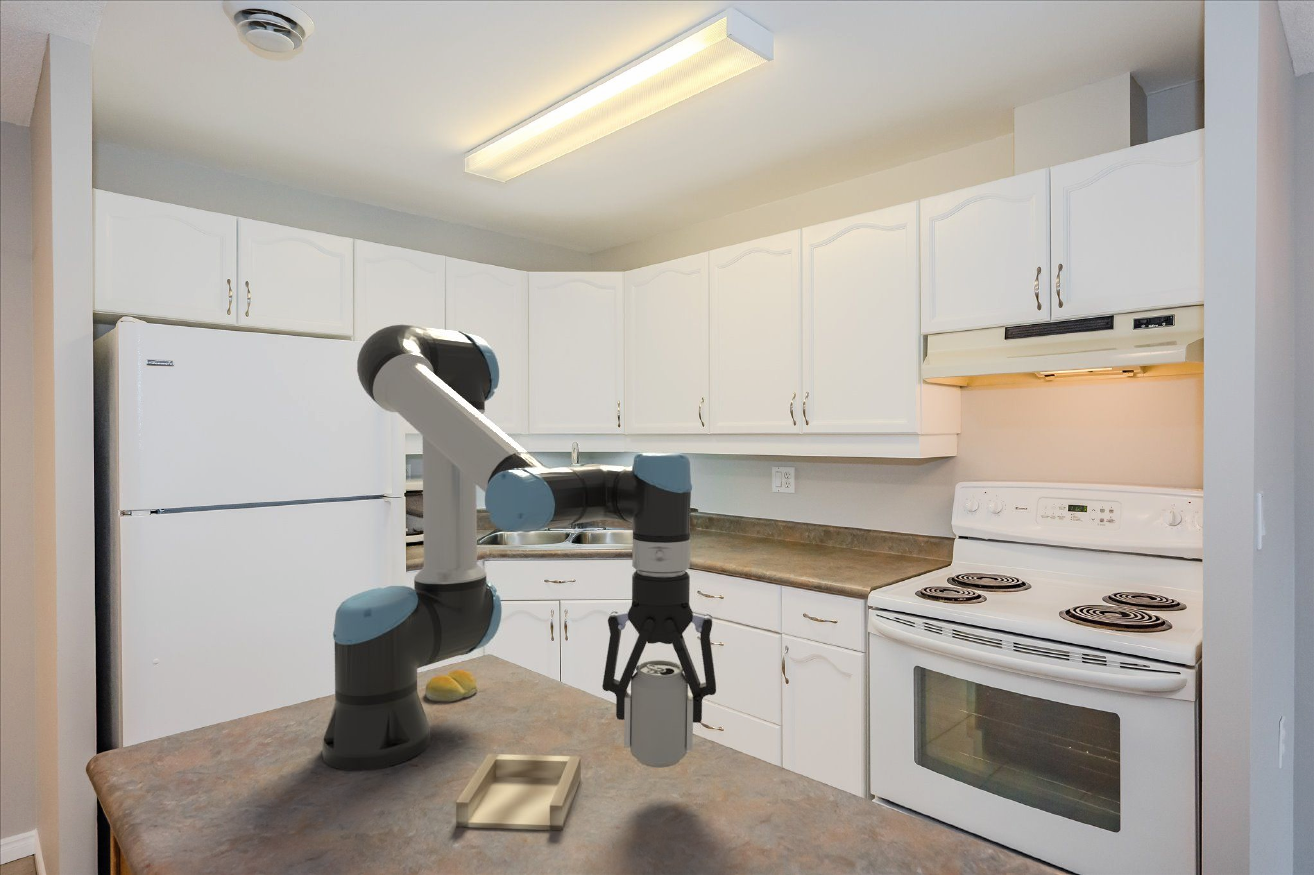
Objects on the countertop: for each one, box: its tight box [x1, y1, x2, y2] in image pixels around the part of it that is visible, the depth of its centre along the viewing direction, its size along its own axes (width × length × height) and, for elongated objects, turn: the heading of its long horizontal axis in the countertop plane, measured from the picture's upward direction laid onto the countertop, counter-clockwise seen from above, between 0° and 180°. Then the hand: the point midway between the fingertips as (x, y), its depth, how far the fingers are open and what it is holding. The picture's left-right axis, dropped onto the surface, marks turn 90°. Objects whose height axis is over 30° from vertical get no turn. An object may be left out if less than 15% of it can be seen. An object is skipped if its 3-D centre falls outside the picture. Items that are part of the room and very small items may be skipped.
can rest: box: [455, 753, 582, 831], centre depth 93 cm, size 13×13×3 cm
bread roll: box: [424, 669, 478, 703], centre depth 131 cm, size 8×9×4 cm
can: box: [629, 659, 689, 769], centre depth 94 cm, size 8×8×12 cm
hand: (658, 744), depth 94 cm, fingers closed on can, 7 cm apart
